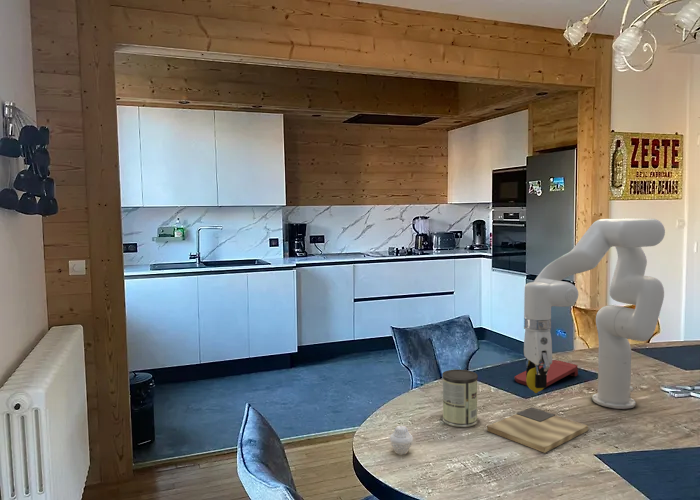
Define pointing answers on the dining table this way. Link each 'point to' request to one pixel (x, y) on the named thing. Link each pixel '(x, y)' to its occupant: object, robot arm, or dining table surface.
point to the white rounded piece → (401, 440)
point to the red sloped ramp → (553, 372)
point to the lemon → (532, 380)
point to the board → (537, 429)
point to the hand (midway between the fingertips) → (536, 383)
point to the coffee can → (460, 398)
